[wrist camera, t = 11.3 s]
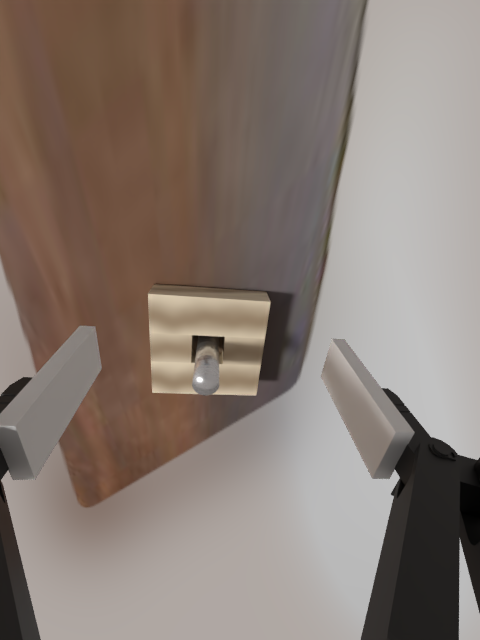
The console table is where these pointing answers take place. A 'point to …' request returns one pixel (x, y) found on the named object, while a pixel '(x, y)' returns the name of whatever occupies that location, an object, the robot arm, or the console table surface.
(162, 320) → the bore block
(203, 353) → the pin
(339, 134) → the console table surface
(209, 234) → the console table surface
